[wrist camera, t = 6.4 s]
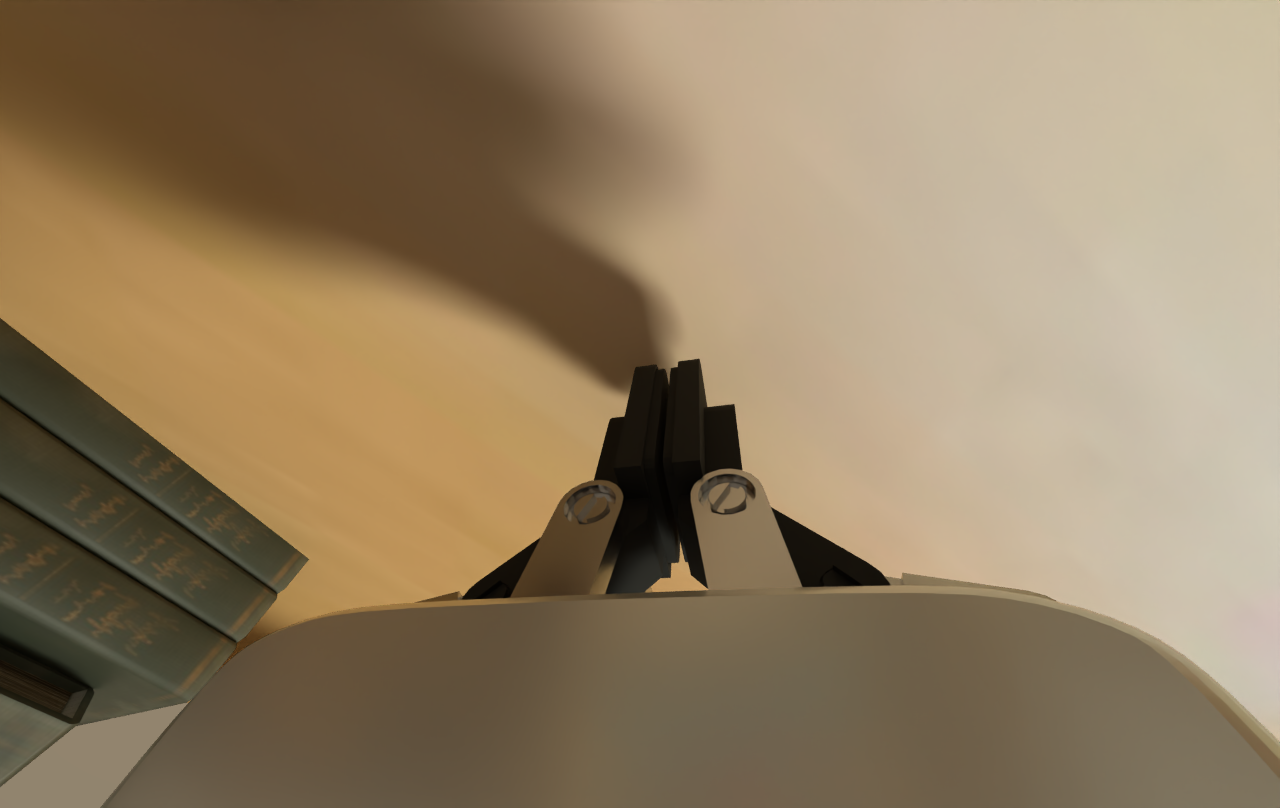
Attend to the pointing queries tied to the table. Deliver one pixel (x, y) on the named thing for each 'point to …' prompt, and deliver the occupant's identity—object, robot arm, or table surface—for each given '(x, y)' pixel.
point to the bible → (110, 562)
